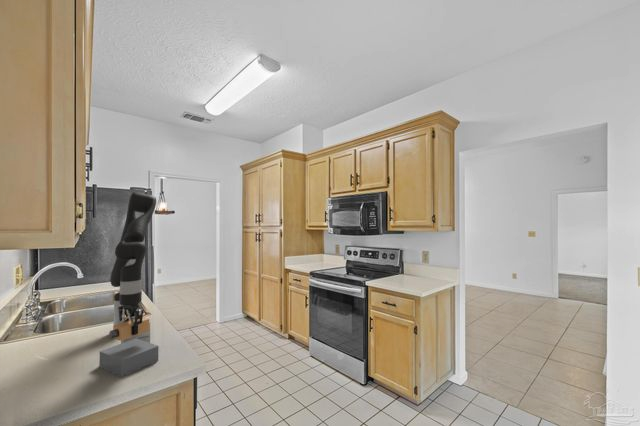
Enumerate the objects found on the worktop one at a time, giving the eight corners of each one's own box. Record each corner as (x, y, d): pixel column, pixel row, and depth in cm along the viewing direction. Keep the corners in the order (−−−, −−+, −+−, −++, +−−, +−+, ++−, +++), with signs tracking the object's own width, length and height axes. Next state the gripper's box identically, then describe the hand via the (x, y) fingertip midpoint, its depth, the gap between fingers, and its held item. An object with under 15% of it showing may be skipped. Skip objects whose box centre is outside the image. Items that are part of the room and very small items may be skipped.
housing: (141, 328, 123) (141, 316, 123) (149, 330, 120) (149, 318, 120) (107, 339, 111) (107, 326, 111) (115, 342, 109) (115, 329, 109)
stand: (99, 366, 113) (99, 351, 114) (136, 352, 126) (136, 338, 126) (121, 376, 106) (121, 360, 106) (158, 360, 118) (158, 345, 118)
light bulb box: (146, 341, 137) (147, 318, 138) (150, 345, 133) (151, 322, 133) (120, 348, 130) (120, 324, 130) (123, 353, 125) (123, 328, 125)
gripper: (150, 291, 117) (150, 333, 116) (130, 287, 123) (130, 327, 123) (131, 295, 110) (130, 340, 109) (111, 291, 117) (110, 333, 116)
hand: (130, 333), depth 116 cm, fingers closed on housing, 5 cm apart
